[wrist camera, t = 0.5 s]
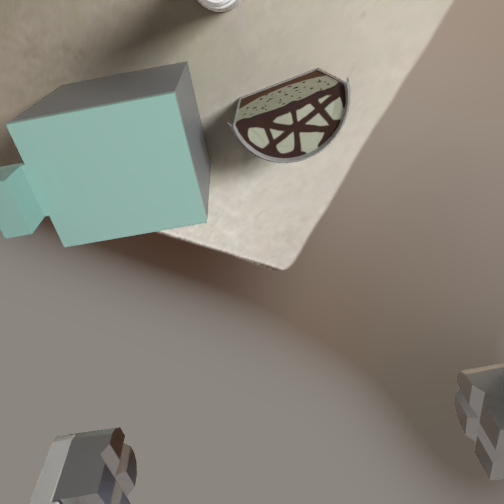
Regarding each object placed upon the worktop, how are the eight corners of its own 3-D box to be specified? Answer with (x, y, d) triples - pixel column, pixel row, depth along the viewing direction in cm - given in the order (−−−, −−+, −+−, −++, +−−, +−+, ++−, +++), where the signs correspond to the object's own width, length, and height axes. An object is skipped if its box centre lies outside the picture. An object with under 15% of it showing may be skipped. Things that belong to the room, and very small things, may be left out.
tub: (62, 85, 48) (9, 121, 36) (186, 61, 47) (174, 90, 36) (100, 184, 54) (66, 243, 43) (210, 164, 54) (207, 218, 42)
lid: (-25, 128, 36) (-51, 144, 33) (174, 90, 36) (169, 103, 32) (37, 248, 43) (21, 271, 39) (207, 218, 42) (205, 239, 39)
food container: (245, 151, 53) (249, 184, 45) (226, 102, 50) (227, 128, 42) (343, 115, 52) (366, 143, 43) (330, 62, 48) (353, 81, 40)
